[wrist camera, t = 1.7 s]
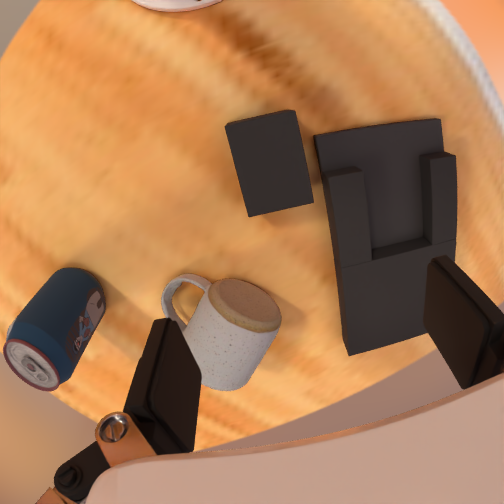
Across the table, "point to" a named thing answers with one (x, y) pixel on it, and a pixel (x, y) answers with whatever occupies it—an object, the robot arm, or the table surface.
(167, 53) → the table surface
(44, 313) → the soda can
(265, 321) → the ceramic mug
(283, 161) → the loose pad
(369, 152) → the pad base
